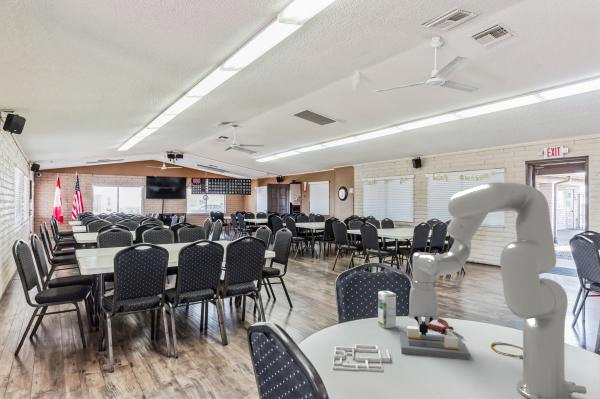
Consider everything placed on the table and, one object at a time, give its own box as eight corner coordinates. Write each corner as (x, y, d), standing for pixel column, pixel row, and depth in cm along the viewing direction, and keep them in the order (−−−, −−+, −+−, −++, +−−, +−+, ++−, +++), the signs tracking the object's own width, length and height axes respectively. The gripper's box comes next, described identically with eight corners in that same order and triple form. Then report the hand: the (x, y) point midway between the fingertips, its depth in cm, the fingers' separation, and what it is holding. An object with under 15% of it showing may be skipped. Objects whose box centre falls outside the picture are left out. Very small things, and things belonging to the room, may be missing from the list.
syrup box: (377, 324, 156) (377, 291, 157) (389, 323, 158) (389, 290, 158) (384, 328, 151) (384, 294, 151) (396, 327, 153) (396, 293, 153)
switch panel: (459, 342, 136) (459, 335, 136) (469, 359, 121) (469, 352, 121) (399, 336, 142) (399, 331, 142) (401, 353, 126) (401, 346, 126)
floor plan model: (384, 343, 136) (384, 338, 136) (393, 374, 111) (393, 368, 112) (334, 341, 139) (334, 335, 139) (332, 371, 114) (332, 364, 114)
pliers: (447, 342, 137) (447, 335, 137) (416, 325, 157) (416, 318, 157) (473, 340, 140) (473, 333, 140) (440, 323, 160) (440, 316, 160)
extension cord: (514, 364, 118) (514, 358, 118) (483, 346, 134) (483, 340, 134) (547, 362, 120) (547, 356, 120) (512, 344, 136) (512, 338, 136)
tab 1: (417, 334, 137) (417, 326, 137) (418, 337, 134) (418, 329, 134) (407, 333, 138) (407, 325, 138) (407, 336, 135) (407, 328, 135)
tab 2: (456, 344, 127) (456, 336, 128) (457, 347, 125) (457, 339, 125) (444, 343, 128) (444, 335, 128) (445, 346, 125) (445, 338, 126)
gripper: (442, 284, 138) (443, 332, 137) (402, 282, 141) (402, 329, 141) (445, 288, 130) (446, 339, 130) (403, 286, 134) (403, 336, 134)
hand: (423, 334), depth 135 cm, fingers closed
